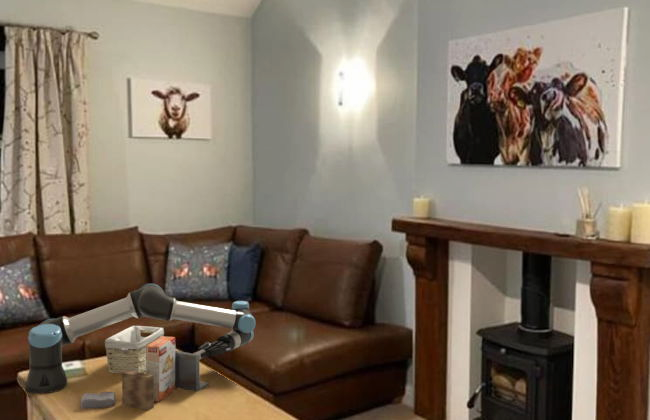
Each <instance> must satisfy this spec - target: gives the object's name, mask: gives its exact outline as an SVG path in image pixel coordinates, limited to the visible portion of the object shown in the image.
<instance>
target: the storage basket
mask: <svg viewBox="0 0 650 420" xmlns="http://www.w3.org/2000/svg"><path fill="white" fill-rule="evenodd" d="M141 333H145V334H146V333H147V334H150V335H148V336H142V334H141ZM164 335H165V330H164V327H157V326H156V327H155V326H146V325H145V326H142V325H131V326H130V327H128V328H125V329H123V330H121V331H120V332H117V333H116V334H113V335H112V336H110V337H108V338H106V339H105V340H104V347H105V351H106V352H105V353H106V358H107V360H106V362H107V367H108V373H110V374H120V375H122V372H124V371H127V370H131V371H136V372H141V373H144V372H146V346H147V345H149V344H150V343H152V342H154V341H155V340H157V339H159V338H161V337H162V336H164Z"/></svg>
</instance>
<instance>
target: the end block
mask: <svg viewBox="0 0 650 420" xmlns="http://www.w3.org/2000/svg"><path fill="white" fill-rule="evenodd" d="M121 381H122V382H121V383H122V384H121V385H122V386H121V387H122V388H121V390H122V399H121V401H122V405H123V406H128V407H133V408H135V409H140V410H144V411H150V410H152V409H154V406H155V404H154V402H155V401H154V392H153V375H150V374H146V372H145V373H144V372H143V373H141V372H136V371H131V370H127V371H124V372H122V374H121Z"/></svg>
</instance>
